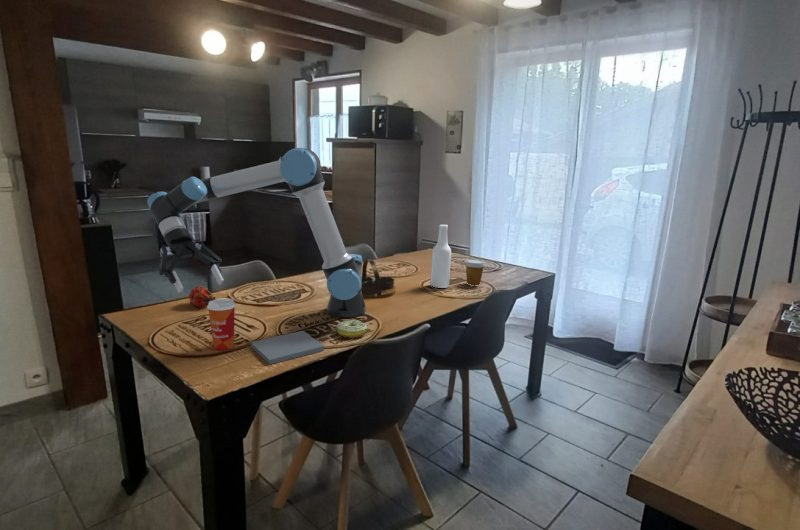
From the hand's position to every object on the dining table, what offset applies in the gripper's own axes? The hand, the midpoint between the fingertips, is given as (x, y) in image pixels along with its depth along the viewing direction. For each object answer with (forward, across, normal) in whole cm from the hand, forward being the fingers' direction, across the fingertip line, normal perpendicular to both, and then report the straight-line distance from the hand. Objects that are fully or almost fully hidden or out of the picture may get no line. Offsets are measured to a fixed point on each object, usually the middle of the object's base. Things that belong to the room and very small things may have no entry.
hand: (202, 286), depth 146 cm
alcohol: (+28, -106, +4) cm, 110 cm away
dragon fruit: (-8, -15, -34) cm, 38 cm away
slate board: (+31, -13, +6) cm, 34 cm away
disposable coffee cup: (+35, -122, +11) cm, 127 cm away
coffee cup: (+20, 0, -5) cm, 21 cm away
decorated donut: (+35, -36, +10) cm, 52 cm away
